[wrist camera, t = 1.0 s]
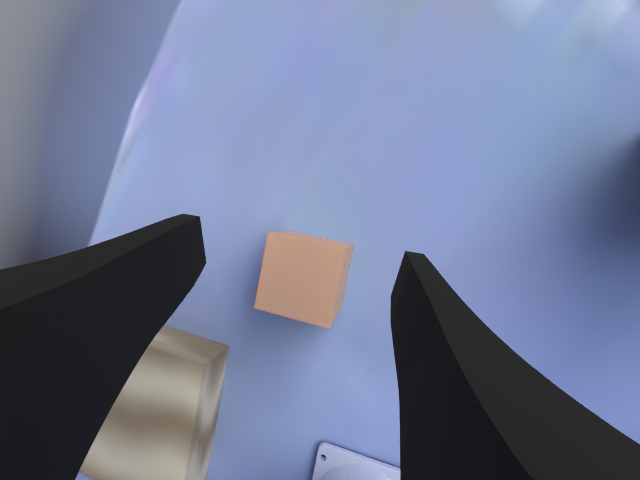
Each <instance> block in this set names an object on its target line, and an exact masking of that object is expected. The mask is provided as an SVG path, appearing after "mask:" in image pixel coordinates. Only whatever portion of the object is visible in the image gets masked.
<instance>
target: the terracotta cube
mask: <svg viewBox="0 0 640 480" xmlns="http://www.w3.org/2000/svg"><path fill="white" fill-rule="evenodd" d="M353 246H354V244H349V243H344V242H339V241H335V240H330V239H325V238H320V237H315V236H311V235H306V234H301V233H296V232H272V231H268V234H267V239H266V245H265V250H264V256H263V261H262V267H261V272H260V278H259V283H258V289H257V294H256V300H255V305H254V308H255V309H258V310H262V311H266V312H269V313H273V314H277V315H280V316H284V317H288V318H291V319H295V320H299V321H302V322H306V323H310V324H313V325H317V326H321V327H325V328H328V329H330V327H331V325H332V323H333V322H334V320H335V318H336V316H337V314H338V313H339V311H340V309H341V305H342V300H343V296H344V291H345V286H346V281H347V276H348V271H349V266H350V261H351V256H352V251H353Z"/></svg>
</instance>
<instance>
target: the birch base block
mask: <svg viewBox="0 0 640 480" xmlns="http://www.w3.org/2000/svg"><path fill="white" fill-rule="evenodd" d="M229 347H230V346H228V345H225V344H221V343H218V342H215V341H212V340H208V339H205V338H202V337H199V336H195V335H192V334H189V333H186V332H182V331H179V330H176V329H173V328H169V327H166V326H163V327H162V328H161V329H160V331H159V332H158V333H157V335H156V336H155V337H154V339H153V340H152V342H151V343H150V344H149V346H148V347H147V349H146V350H145V352H144V354H143V355H142V357H141V359H140V360H139V362H138V363H137V365H136V367H135V368H134V370H133V372H132V373H131V375H130V376H129V378H128V380H127V382H126V383H125V385H124V387H123V389H122V390H121V392H120V394H119V396H118V397H117V399H116V401H115V403H114V404H113V406H112V408H111V410H110V412H109V414H108V415H107V417H106V419H105V421H104V423H103V425H102V427H101V429H100V430H99V432H98V434H97V436H96V438H95V440H94V442H93V444H92V446H91V448H90V450H89V452H88V454H87V456H86V458H85V460H84V462H83V464H82V466H81V468H80V470H79V472H80V473H82V474H84V475H86V476H88V477H91V478H93V479H95V480H205V479H206V476H207V471H208V465H209V460H210V454H211V448H212V443H213V437H214V432H215V426H216V420H217V415H218V409H219V403H220V398H221V392H222V387H223V381H224V375H225V370H226V364H227V359H228V353H229Z"/></svg>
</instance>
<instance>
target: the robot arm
mask: <svg viewBox="0 0 640 480" xmlns="http://www.w3.org/2000/svg"><path fill="white" fill-rule="evenodd" d="M205 264H206V257H205V250H204V243H203V236H202V229H201V222H200V217H199V216H193V215H187V214H181V215H177V216H174V217H171V218H168V219H165V220H162V221H159V222H157V223H154V224H151V225H149V226H146V227H143V228H141V229H138V230H135V231H132V232H130V233H127V234H124V235H122V236H119V237H116V238H113V239H110V240H107V241H104V242H101V243H98V244H95V245H92V246H90V247H87V248H84V249H80V250H77V251H74V252H70V253H67V254H64V255H60V256H56V257H52V258H49V259H45V260H41V261H37V262H33V263H29V264H24V265H20V266H15V267H11V268H6V269H2V270H0V480H75V478H76V476H77V474H78V472H79V470H80V468H81V466H82V464H83V462H84V460H85V458H86V456H87V454H88V452H89V450H90V448H91V446H92V444H93V442H94V440H95V438H96V436H97V434H98V432H99V430H100V429H101V427H102V425H103V423H104V421H105V419H106V417H107V415H108V414H109V412H110V410H111V408H112V406H113V404H114V403H115V401H116V399H117V397H118V396H119V394H120V392H121V390H122V389H123V387H124V385H125V383H126V382H127V380H128V378H129V376H130V375H131V373H132V372H133V370H134V368H135V367H136V365H137V363H138V362H139V360H140V359H141V357H142V355H143V354H144V352H145V350H146V349H147V347H148V346H149V344H150V343H151V342H152V340H153V339H154V337H155V336H156V335H157V333H158V332H159V331H160V329H161V328H162V327H163V326H164V324H165V323H166V322H167V320H168V319H169V318H170V316H171V315H172V314H173V312H174V311H175V310H176V309H177V307H178V306H179V305H180V303H181V302H182V301H183V299H184V298H185V297H186V295H187V294H188V293H189V291H190V290H191V289H192V287H193V286H194V284H195V282H196V281H197V279H198V277H199V276H200V274H201V272H202V270H203V268H204V266H205ZM391 330H392V338H393V347H394V355H395V363H396V371H397V379H398V388H399V403H400V468H397V467H394V466H391V465H388V464H385V463H383V462H380V461H377V460H374V459H371V458H369V457H366V456H363V455H360V454H357V453H354V452H352V451H349V450H346V449H343V448H340V447H338V446H335V445H332V444H329V443H326V442H323V443H321V444H320V445H319V448H318V452H317V457H316V462H315V467H314V472H313V477H312V480H640V444H638V443H637V442H635V441H634V440H632V439H630V438H629V437H627V436H626V435H624V434H623V433H621V432H620V431H618V430H617V429H615V428H614V427H612V426H611V425H610V424H608V423H607V422H605V421H604V420H603V419H601V418H600V417H598V416H597V415H595V414H594V413H593V412H591V411H590V410H588V409H587V408H586V407H584V406H583V405H581V404H580V403H579V402H577V401H576V400H575V399H573V398H572V397H571V396H569V395H568V394H566V393H565V392H564V391H562V390H561V389H560V388H558V387H557V386H556V385H555V384H553V383H552V382H551V381H550V380H548V379H547V378H546V377H545V376H543V375H542V374H541V373H540V372H538V371H537V370H536V369H535V368H533V367H532V366H531V365H530V364H528V363H527V362H526V361H525V360H524V359H522V358H521V357H520V356H519V355H518V354H517V353H515V352H514V351H513V350H512V349H511V348H510V347H509V346H508V345H507V344H505V343H504V342H503V341H502V340H501V339H500V338H499V337H498V336H497V335H496V334H494V333H493V332H492V331H491V330H490V329H489V328H488V327H487V326H486V325H485V324H484V323H483V322H482V321H481V320H480V319H479V318H478V317H477V316H476V314H475V313H474V312H473V311H472V310H471V309H470V308H469V307H468V306H467V305H466V304H465V303H464V302H463V301H462V299H461V298H460V297H459V296H458V295H457V294H456V293H455V291H454V290H453V289H452V288H451V287H450V285H449V284H448V283H447V282H446V281H445V279H444V278H443V277H442V276H441V274H440V273H439V272H438V271H437V270H436V268H435V267H434V266H433V265H432V263H431V262H430V261H429V260H428V258H427V257H426V256H425V255H424V254H420V253H414V252H408V251H405V254H404V257H403V260H402V263H401V266H400V269H399V272H398V275H397V279H396V282H395V285H394V288H393V291H392V294H391ZM321 455H325V456H326V457H322V456H321Z"/></svg>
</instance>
